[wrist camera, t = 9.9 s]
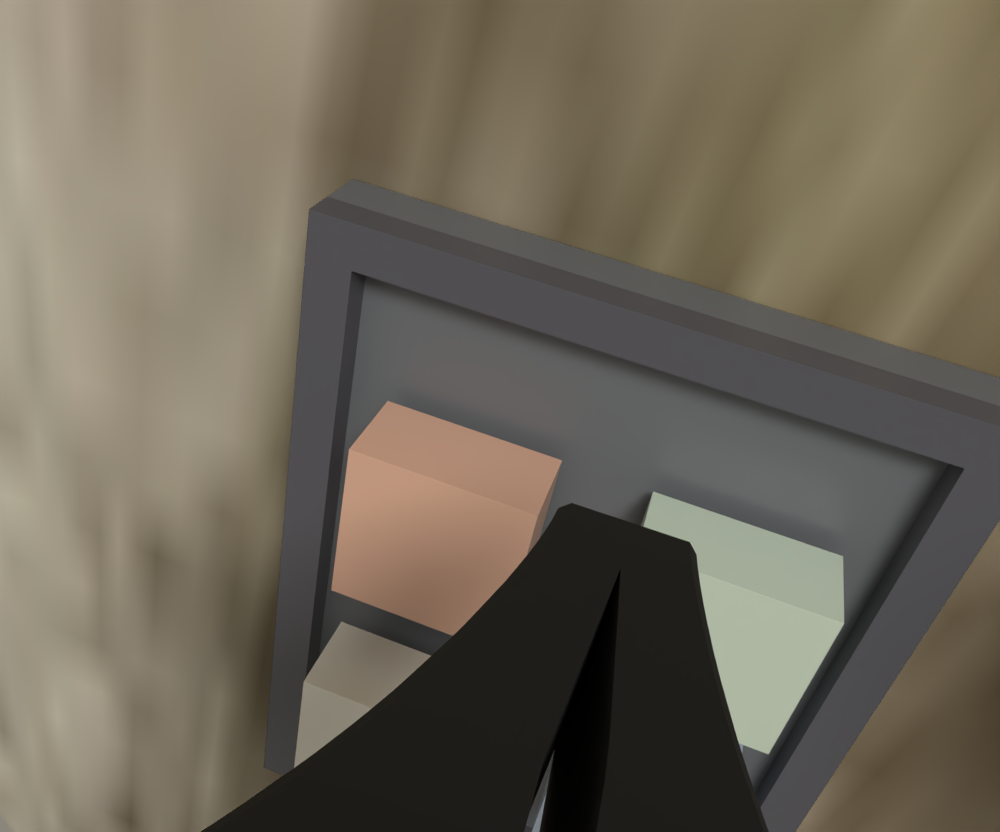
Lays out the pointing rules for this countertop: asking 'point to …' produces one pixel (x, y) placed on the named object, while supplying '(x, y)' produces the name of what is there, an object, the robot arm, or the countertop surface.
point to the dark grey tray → (634, 438)
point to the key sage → (759, 611)
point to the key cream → (349, 684)
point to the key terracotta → (436, 516)
